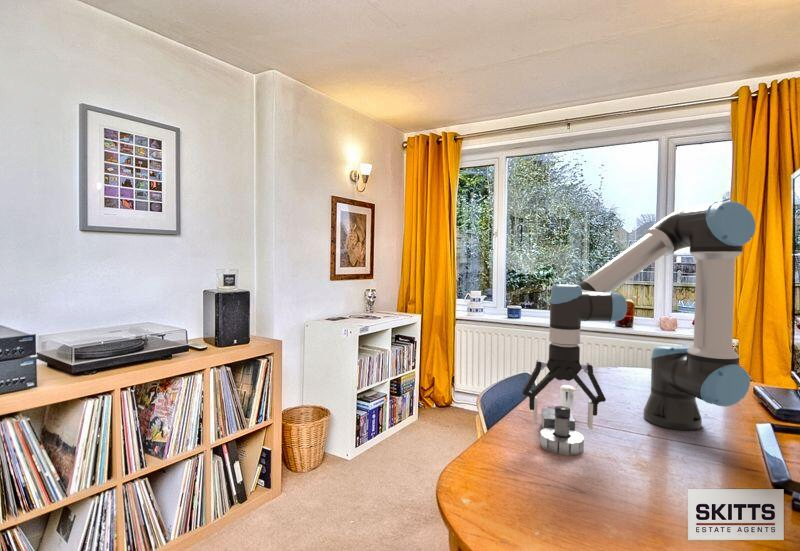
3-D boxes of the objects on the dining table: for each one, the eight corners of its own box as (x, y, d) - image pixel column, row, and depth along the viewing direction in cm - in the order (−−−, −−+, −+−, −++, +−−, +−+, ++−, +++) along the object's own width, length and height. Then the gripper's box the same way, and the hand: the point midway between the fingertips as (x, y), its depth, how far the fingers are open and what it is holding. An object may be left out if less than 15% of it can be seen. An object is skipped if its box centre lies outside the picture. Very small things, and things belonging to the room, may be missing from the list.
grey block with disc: (573, 424, 131) (573, 408, 131) (586, 457, 109) (586, 437, 109) (536, 421, 133) (536, 405, 133) (542, 452, 112) (542, 432, 112)
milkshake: (578, 417, 137) (579, 385, 137) (560, 415, 138) (561, 384, 138) (575, 412, 142) (576, 381, 141) (558, 411, 143) (559, 380, 142)
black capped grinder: (570, 449, 114) (571, 411, 113) (554, 448, 114) (555, 410, 114) (568, 443, 117) (569, 406, 117) (553, 442, 118) (554, 405, 118)
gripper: (613, 344, 115) (610, 424, 116) (514, 338, 121) (512, 414, 122) (620, 349, 108) (617, 435, 109) (515, 343, 114) (513, 424, 115)
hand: (562, 424), depth 116 cm, fingers open, 13 cm apart
